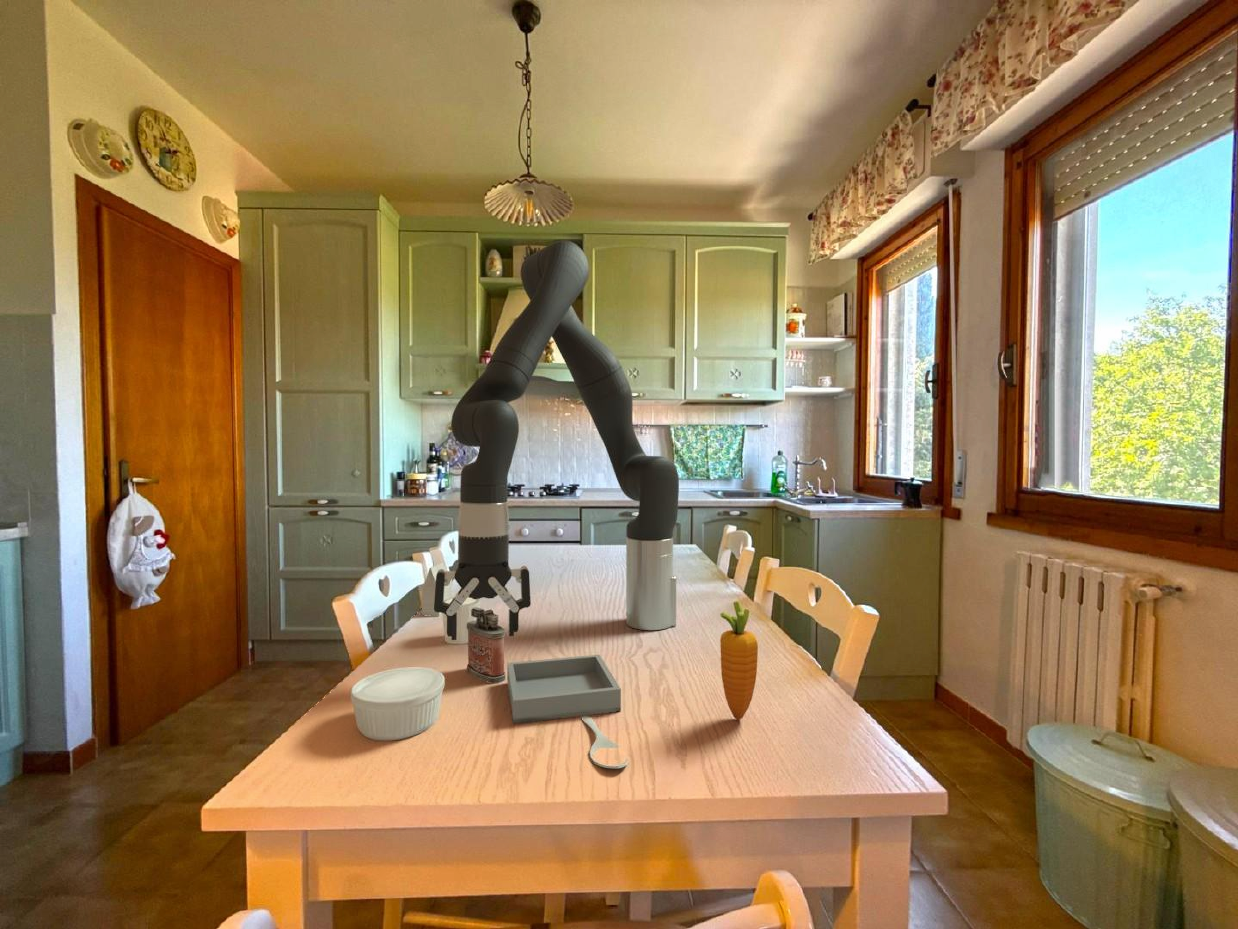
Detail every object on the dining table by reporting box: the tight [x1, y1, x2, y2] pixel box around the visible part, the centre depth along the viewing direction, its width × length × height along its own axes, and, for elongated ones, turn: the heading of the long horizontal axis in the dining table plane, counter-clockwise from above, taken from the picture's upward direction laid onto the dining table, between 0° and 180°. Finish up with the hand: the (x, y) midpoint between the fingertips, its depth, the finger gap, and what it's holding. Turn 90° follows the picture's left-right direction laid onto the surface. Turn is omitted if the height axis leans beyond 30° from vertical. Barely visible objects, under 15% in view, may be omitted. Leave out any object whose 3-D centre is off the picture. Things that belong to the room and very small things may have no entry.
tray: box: [506, 654, 622, 725], centre depth 80 cm, size 14×13×3 cm
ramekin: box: [350, 666, 446, 742], centre depth 72 cm, size 11×11×5 cm
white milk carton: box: [421, 561, 453, 617], centre depth 121 cm, size 4×7×10 cm, turn 175°
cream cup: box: [441, 596, 481, 645], centre depth 104 cm, size 7×7×7 cm
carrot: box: [719, 601, 759, 721], centre depth 73 cm, size 5×5×15 cm
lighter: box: [466, 607, 506, 684], centre depth 87 cm, size 8×3×10 cm, turn 47°
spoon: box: [580, 715, 629, 769], centre depth 71 cm, size 4×21×2 cm, turn 18°
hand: (482, 636), depth 87 cm, fingers open, 8 cm apart
